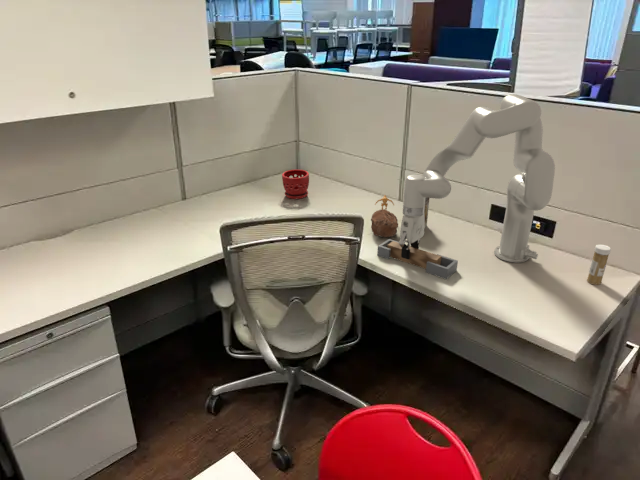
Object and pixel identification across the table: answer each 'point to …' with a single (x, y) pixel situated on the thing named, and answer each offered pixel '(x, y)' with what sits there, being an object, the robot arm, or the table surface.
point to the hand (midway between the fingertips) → (409, 254)
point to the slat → (414, 255)
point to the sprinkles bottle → (598, 264)
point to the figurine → (384, 201)
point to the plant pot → (296, 183)
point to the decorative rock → (384, 223)
